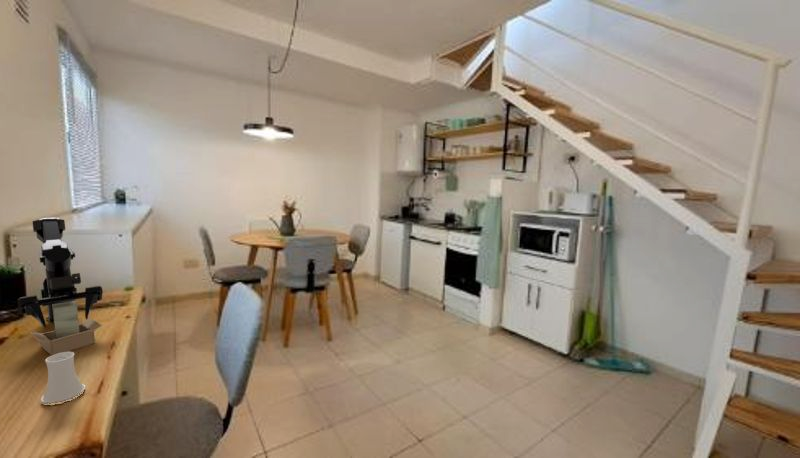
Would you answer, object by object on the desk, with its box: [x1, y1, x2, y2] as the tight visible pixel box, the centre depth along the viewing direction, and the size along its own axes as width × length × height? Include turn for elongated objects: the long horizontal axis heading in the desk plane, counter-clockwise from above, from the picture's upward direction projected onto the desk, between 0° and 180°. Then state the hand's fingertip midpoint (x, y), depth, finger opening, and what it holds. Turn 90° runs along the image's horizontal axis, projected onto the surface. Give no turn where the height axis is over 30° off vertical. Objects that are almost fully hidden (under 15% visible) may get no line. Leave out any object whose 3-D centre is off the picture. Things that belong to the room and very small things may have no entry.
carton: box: [29, 317, 102, 356], centre depth 105 cm, size 12×14×5 cm
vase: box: [40, 351, 86, 405], centre depth 81 cm, size 8×8×10 cm
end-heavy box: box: [52, 300, 80, 339], centre depth 105 cm, size 5×5×13 cm
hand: (66, 322), depth 105 cm, fingers open, 9 cm apart
